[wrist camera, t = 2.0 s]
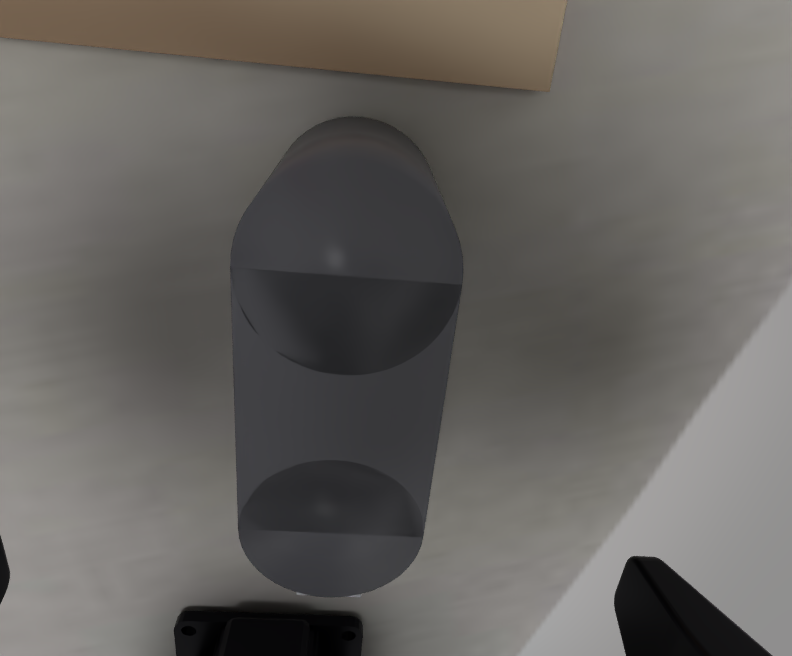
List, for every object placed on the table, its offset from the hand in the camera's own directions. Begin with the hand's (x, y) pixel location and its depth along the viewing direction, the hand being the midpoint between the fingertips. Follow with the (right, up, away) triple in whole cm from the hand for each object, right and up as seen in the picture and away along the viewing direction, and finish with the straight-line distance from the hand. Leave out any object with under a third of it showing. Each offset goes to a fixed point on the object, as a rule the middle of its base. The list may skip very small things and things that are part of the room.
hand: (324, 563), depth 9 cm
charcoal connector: (0, +3, +8) cm, 8 cm away
